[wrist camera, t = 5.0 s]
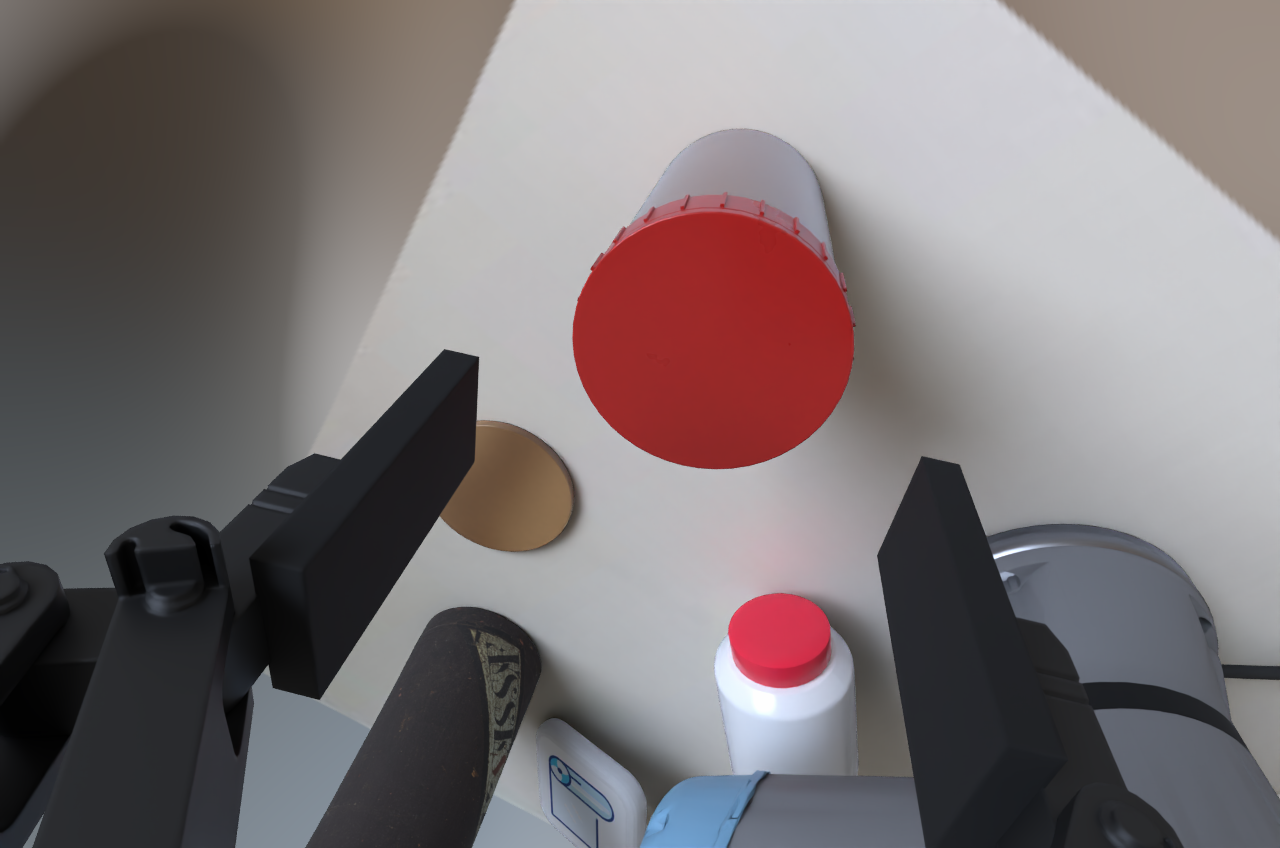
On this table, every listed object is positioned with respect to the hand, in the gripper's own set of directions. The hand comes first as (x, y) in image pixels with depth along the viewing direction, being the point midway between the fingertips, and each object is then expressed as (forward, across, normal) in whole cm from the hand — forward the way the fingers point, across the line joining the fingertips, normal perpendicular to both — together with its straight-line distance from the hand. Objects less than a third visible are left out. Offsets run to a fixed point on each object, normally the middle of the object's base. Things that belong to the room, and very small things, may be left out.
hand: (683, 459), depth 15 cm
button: (+19, +5, +42) cm, 47 cm away
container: (+20, +10, +33) cm, 40 cm away
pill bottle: (+16, -11, +31) cm, 36 cm away
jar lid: (+6, 0, 0) cm, 6 cm away
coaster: (+20, +10, +18) cm, 29 cm away
